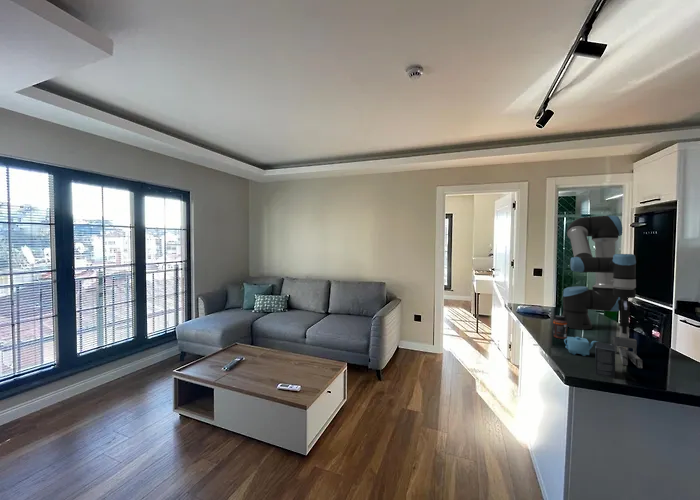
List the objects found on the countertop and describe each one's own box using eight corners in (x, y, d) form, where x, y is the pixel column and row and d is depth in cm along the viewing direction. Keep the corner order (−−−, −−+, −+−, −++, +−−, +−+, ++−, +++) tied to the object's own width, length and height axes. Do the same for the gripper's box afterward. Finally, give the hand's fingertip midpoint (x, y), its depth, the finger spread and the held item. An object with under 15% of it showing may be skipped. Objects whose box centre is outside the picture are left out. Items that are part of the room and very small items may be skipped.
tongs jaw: (628, 358, 127) (628, 350, 127) (633, 358, 126) (633, 351, 126) (637, 367, 117) (637, 359, 117) (642, 368, 116) (642, 360, 116)
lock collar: (613, 351, 135) (613, 336, 135) (635, 354, 130) (635, 339, 130) (614, 353, 132) (614, 338, 132) (636, 356, 128) (636, 341, 128)
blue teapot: (596, 353, 133) (596, 337, 132) (599, 358, 127) (599, 341, 127) (563, 349, 139) (563, 333, 138) (565, 353, 133) (564, 337, 133)
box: (595, 367, 118) (595, 341, 118) (614, 371, 115) (614, 344, 114) (595, 374, 112) (595, 346, 112) (615, 378, 109) (615, 350, 108)
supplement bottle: (569, 339, 152) (569, 317, 152) (556, 339, 153) (556, 317, 153) (563, 336, 158) (563, 314, 158) (551, 335, 159) (551, 314, 159)
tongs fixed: (619, 354, 132) (619, 346, 132) (627, 355, 130) (627, 348, 130) (622, 365, 120) (622, 357, 120) (632, 366, 118) (632, 358, 118)
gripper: (611, 285, 141) (611, 335, 141) (614, 289, 131) (614, 342, 131) (633, 287, 136) (633, 337, 137) (637, 290, 126) (637, 345, 127)
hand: (624, 340), depth 134 cm, fingers closed
